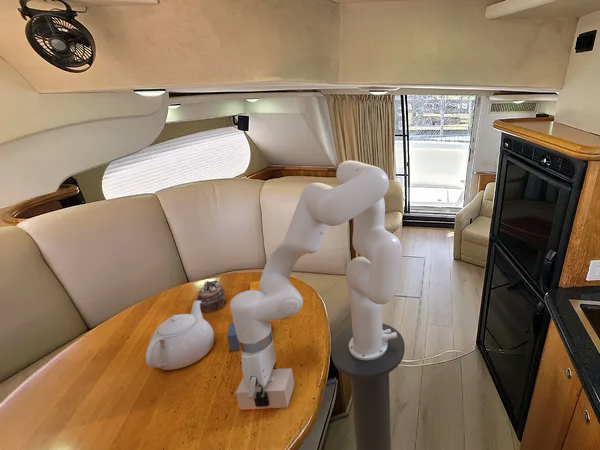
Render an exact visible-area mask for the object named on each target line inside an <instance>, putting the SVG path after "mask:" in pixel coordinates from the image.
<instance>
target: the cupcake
mask: <svg viewBox="0 0 600 450" xmlns="http://www.w3.org/2000/svg"><path fill="white" fill-rule="evenodd" d="M225 291H226V290H225V289H224V287H223V285H222V284H221V282H220V281H218V280H213V281H209V280H208V281H207V280H206V281H205V282H204V284H203V285H202V287H201V288H200V290H199V291H198V294H197V296H196V301H202V302H201V304H200V309H201V311H203V312H205V313H211V312H214V311H215V312H216V311H219V310H220V309H222V308H224V305H225V295H226V292H225Z"/></svg>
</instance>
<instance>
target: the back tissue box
mask: <svg viewBox="0 0 600 450" xmlns="http://www.w3.org/2000/svg"><path fill="white" fill-rule="evenodd" d="M226 338H227V342H228V345H229V346H228V347H229V349H230V352H233V351H238V350H240V346H239V342H238V338H237V334H236V330H235V326H234V322H233V321H232V322H230V323H229V327H228V331H227V335H226Z"/></svg>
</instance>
